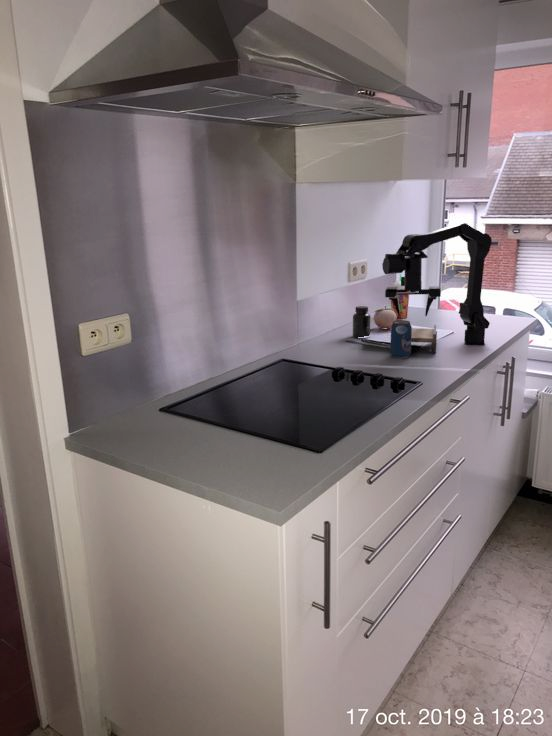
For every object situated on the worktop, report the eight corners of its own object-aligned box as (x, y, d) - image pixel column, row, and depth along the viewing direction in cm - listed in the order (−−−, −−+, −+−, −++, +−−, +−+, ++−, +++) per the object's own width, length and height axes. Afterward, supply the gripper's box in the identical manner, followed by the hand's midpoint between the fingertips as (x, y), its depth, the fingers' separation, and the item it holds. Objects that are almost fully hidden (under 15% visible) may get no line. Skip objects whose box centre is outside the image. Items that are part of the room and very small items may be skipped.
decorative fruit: (381, 333, 247) (381, 308, 244) (370, 329, 254) (370, 305, 252) (401, 331, 251) (401, 306, 248) (389, 327, 258) (390, 303, 255)
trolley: (436, 343, 229) (437, 324, 228) (435, 354, 214) (436, 334, 212) (401, 341, 233) (402, 323, 231) (398, 353, 217) (399, 333, 215)
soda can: (406, 359, 208) (407, 324, 205) (387, 357, 212) (387, 322, 209) (413, 354, 214) (414, 320, 211) (394, 352, 217) (395, 319, 214)
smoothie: (406, 317, 276) (407, 272, 271) (411, 321, 268) (412, 275, 263) (387, 318, 276) (388, 273, 270) (392, 322, 268) (393, 275, 262)
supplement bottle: (371, 339, 238) (371, 308, 235) (353, 339, 239) (353, 308, 235) (369, 335, 245) (369, 305, 242) (351, 335, 245) (351, 305, 242)
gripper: (440, 268, 219) (439, 311, 224) (387, 269, 224) (387, 311, 228) (441, 272, 209) (440, 317, 213) (385, 273, 213) (385, 318, 218)
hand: (412, 316), depth 218 cm, fingers open, 9 cm apart
